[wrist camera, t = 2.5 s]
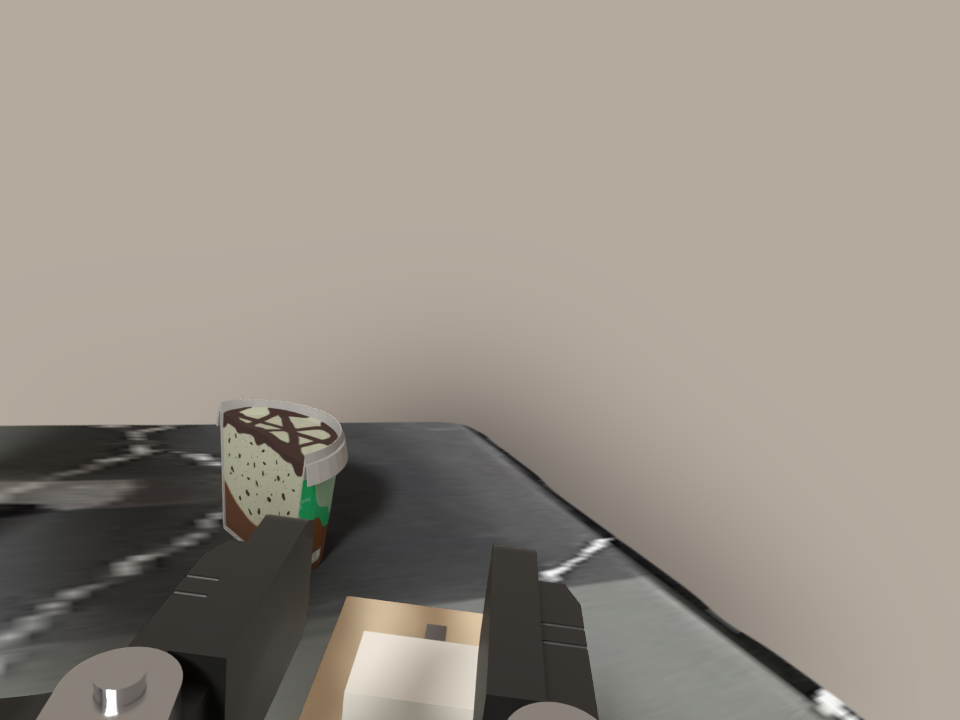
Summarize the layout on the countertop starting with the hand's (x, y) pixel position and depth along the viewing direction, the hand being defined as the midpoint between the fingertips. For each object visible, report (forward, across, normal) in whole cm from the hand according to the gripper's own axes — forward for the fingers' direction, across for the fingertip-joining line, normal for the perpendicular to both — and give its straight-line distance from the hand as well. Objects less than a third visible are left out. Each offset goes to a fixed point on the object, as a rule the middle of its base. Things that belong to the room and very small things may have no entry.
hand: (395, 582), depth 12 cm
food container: (+37, +12, +22) cm, 45 cm away
